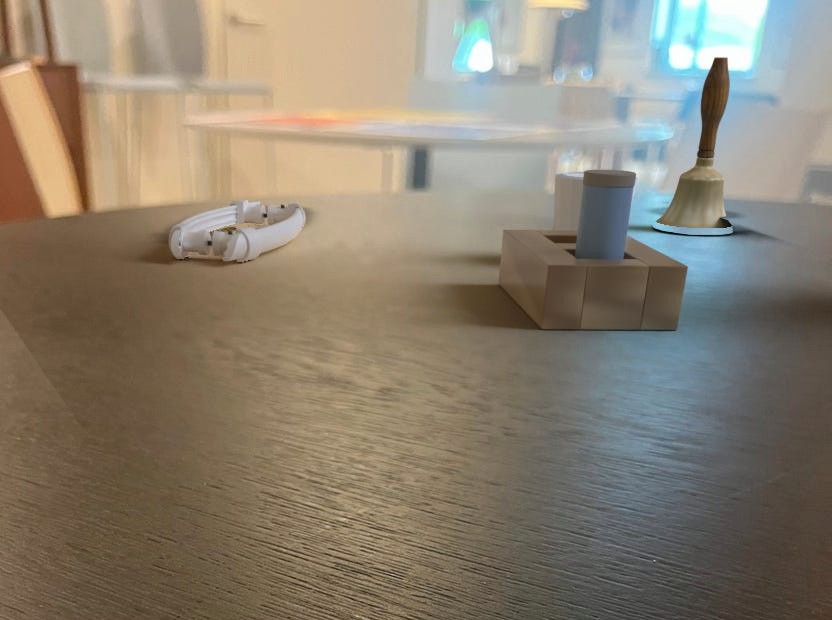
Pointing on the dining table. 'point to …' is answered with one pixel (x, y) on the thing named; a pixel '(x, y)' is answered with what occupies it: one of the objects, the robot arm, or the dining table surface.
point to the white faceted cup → (569, 200)
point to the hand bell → (704, 162)
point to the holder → (590, 283)
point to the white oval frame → (237, 230)
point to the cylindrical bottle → (604, 214)
